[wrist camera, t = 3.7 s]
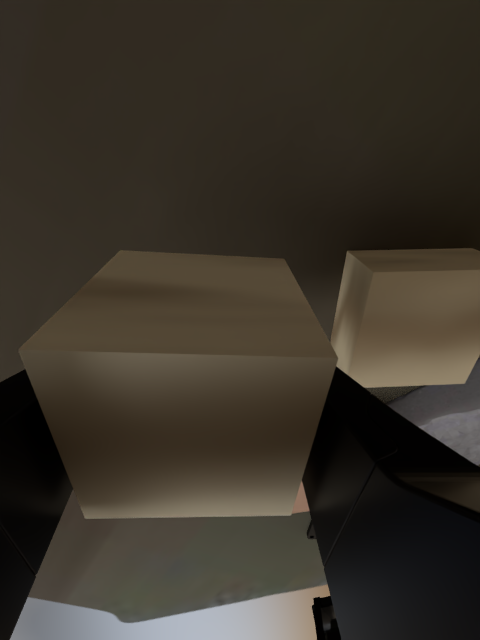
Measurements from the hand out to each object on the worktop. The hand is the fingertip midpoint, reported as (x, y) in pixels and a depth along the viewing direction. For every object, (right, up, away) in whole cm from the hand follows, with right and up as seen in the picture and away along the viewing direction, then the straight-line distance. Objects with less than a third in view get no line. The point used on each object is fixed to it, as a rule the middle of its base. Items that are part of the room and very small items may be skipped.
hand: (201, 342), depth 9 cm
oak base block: (+11, +2, +9) cm, 14 cm away
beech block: (0, +1, +1) cm, 1 cm away
